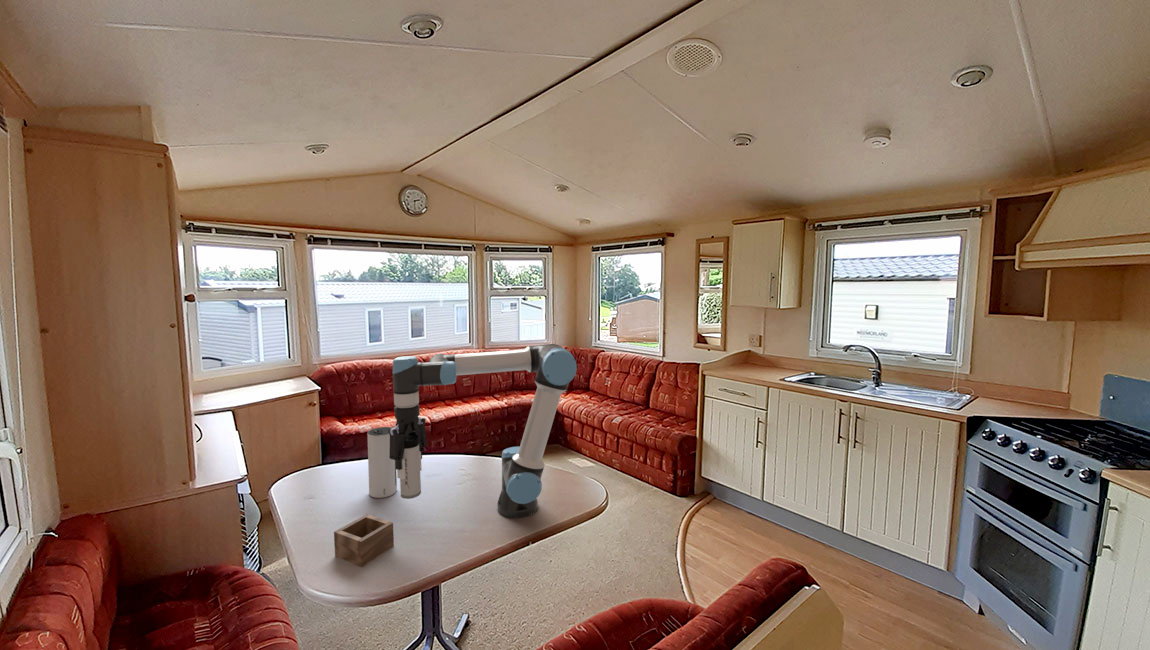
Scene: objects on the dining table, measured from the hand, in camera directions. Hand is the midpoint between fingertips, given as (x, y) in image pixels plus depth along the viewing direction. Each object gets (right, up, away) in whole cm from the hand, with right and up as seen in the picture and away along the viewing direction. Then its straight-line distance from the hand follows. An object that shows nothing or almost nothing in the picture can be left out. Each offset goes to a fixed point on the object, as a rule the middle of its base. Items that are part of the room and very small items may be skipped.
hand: (409, 473), depth 148 cm
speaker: (-24, -19, +35) cm, 46 cm away
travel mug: (0, -7, +1) cm, 7 cm away
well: (-13, -23, -4) cm, 27 cm away
